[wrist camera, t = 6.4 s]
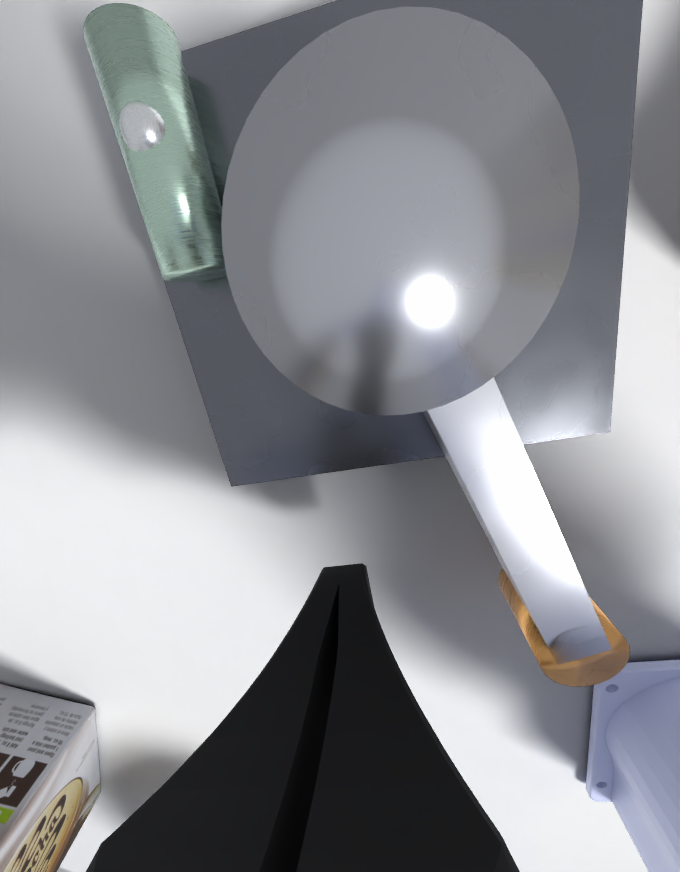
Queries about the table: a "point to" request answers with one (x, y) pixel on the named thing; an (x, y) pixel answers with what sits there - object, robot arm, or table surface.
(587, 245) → the plate
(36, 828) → the coffee box
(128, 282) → the table surface
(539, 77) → the silver pan
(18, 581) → the table surface
